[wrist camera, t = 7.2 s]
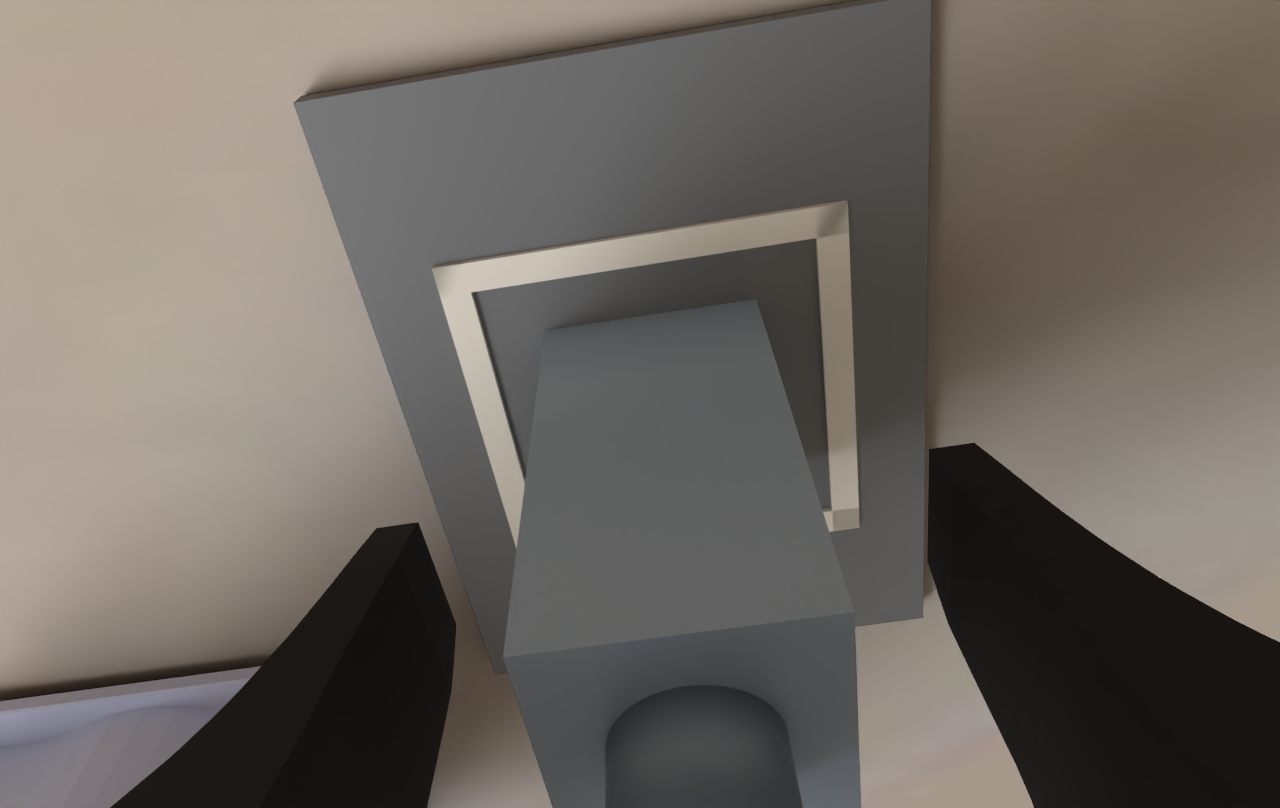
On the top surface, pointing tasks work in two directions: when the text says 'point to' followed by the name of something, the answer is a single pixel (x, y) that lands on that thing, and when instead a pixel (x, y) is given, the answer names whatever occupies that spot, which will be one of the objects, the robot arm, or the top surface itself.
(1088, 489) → the top surface
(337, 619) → the robot arm
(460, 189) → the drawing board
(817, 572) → the grey rectangular block
